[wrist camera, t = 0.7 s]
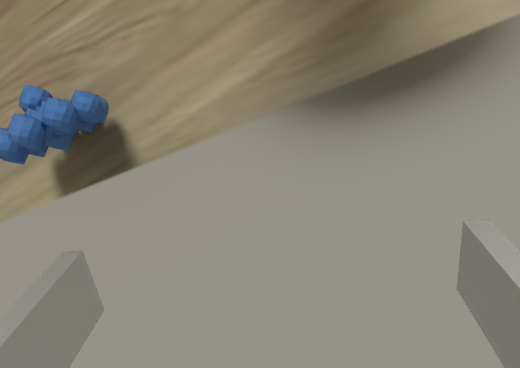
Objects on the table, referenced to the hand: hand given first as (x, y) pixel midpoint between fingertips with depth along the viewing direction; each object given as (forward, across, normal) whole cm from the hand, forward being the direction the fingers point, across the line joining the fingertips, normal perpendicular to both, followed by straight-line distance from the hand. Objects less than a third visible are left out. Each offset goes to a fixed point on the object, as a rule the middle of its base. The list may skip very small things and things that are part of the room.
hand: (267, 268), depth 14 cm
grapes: (+29, -21, +1) cm, 35 cm away
